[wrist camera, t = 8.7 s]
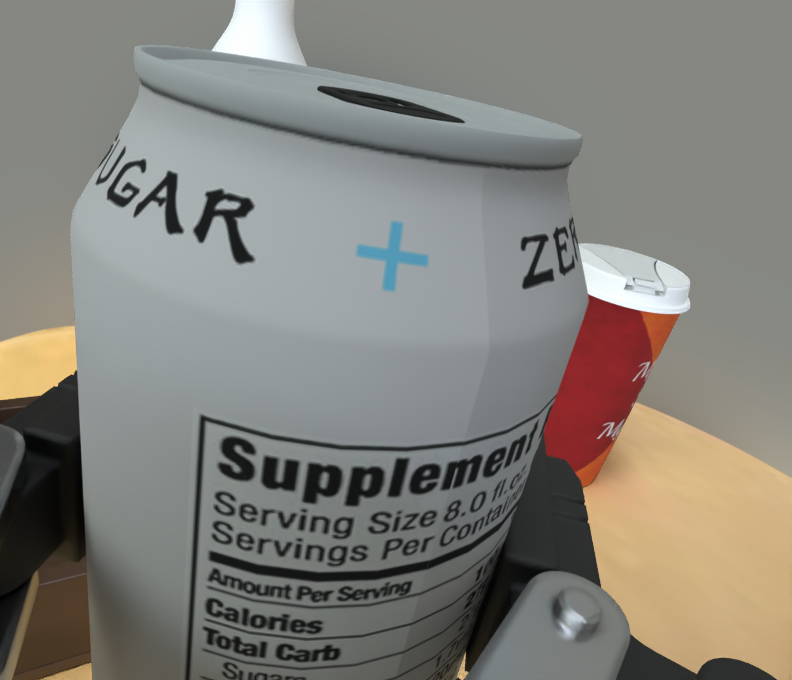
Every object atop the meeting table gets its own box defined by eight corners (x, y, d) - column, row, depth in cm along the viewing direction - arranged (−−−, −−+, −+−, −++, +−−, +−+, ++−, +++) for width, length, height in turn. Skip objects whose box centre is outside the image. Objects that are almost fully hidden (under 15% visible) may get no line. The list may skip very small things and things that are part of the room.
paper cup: (627, 510, 37) (724, 301, 31) (505, 488, 36) (578, 272, 30) (594, 436, 44) (668, 254, 38) (491, 417, 43) (549, 230, 37)
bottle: (187, 453, 34) (218, -243, 21) (151, 380, 39) (158, -201, 26) (316, 426, 38) (408, -158, 25) (267, 364, 44) (321, -138, 31)
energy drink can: (328, 655, 17) (445, 88, 10) (442, 905, 12) (770, 178, 6) (88, 741, 14) (47, 16, 7) (122, 1114, 9) (94, 87, 3)
